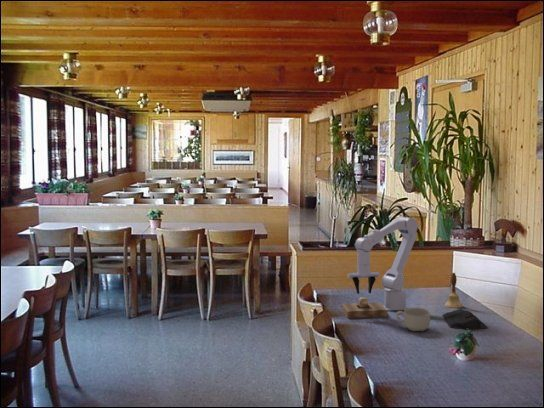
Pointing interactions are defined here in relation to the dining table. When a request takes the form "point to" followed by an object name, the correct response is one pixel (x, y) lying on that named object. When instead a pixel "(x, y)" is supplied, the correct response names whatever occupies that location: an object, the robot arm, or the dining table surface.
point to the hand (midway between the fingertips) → (363, 293)
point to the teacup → (415, 318)
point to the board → (364, 310)
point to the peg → (363, 302)
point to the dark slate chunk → (463, 320)
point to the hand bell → (453, 295)
